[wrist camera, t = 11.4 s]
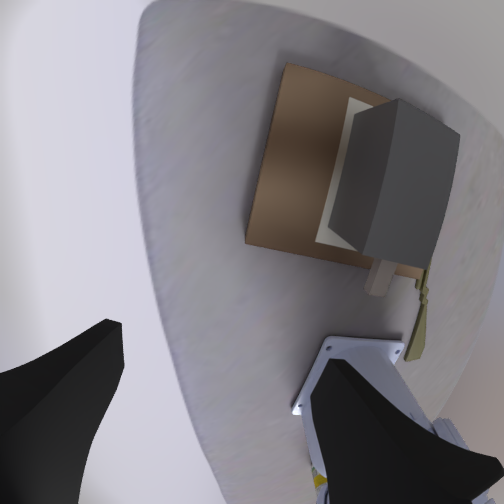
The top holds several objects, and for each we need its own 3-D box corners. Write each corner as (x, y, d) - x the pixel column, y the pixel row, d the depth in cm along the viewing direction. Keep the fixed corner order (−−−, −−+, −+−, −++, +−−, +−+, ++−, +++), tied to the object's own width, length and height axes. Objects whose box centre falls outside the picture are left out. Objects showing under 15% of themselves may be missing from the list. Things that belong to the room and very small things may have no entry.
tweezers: (418, 352, 22) (422, 358, 21) (401, 358, 22) (405, 364, 21) (434, 232, 18) (440, 236, 17) (414, 236, 18) (421, 239, 17)
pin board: (411, 273, 18) (438, 294, 15) (244, 238, 17) (245, 259, 13) (446, 137, 15) (480, 138, 11) (283, 69, 14) (295, 45, 10)
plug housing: (372, 269, 16) (412, 306, 12) (318, 258, 16) (347, 296, 11) (408, 137, 14) (460, 135, 9) (354, 114, 13) (398, 98, 9)
